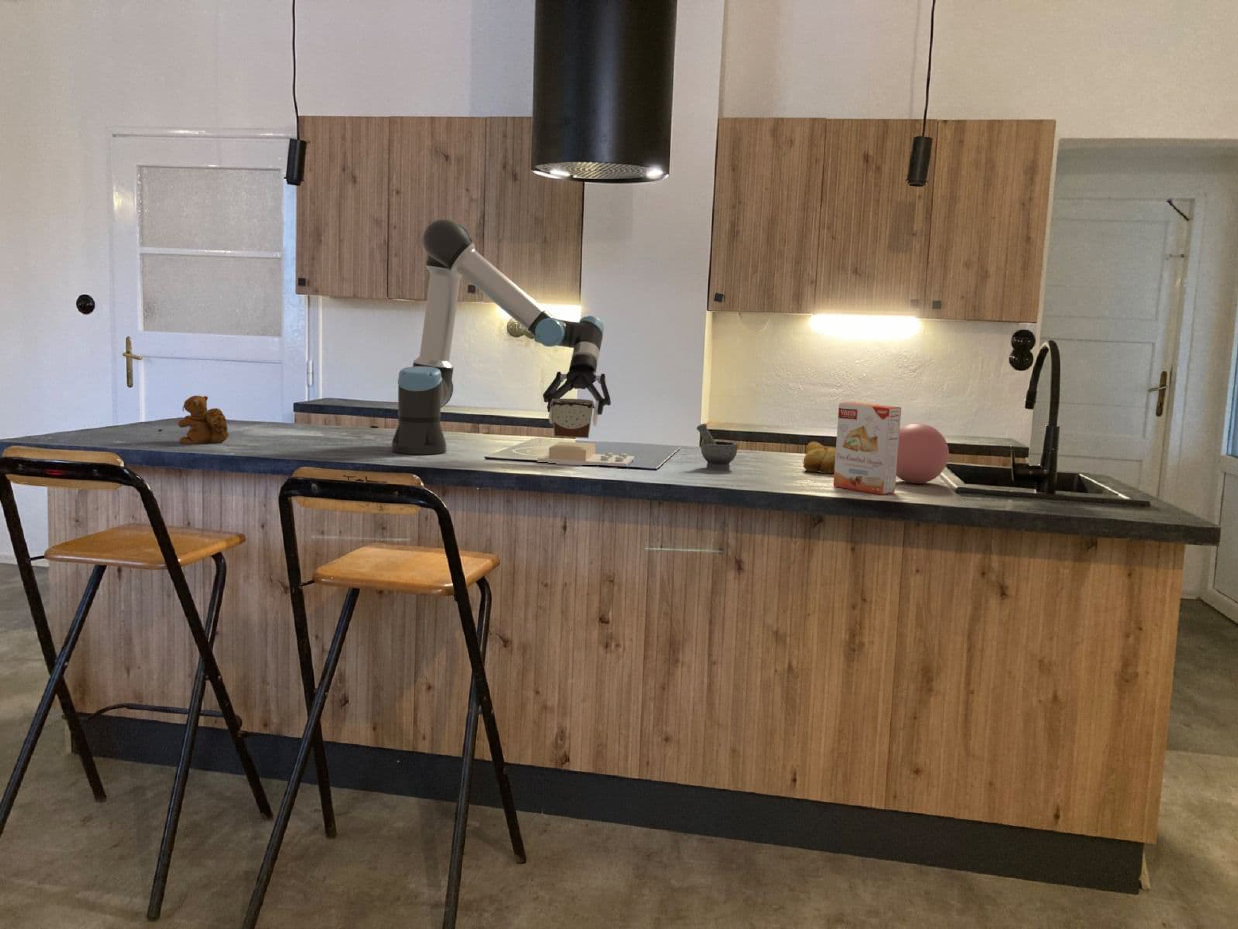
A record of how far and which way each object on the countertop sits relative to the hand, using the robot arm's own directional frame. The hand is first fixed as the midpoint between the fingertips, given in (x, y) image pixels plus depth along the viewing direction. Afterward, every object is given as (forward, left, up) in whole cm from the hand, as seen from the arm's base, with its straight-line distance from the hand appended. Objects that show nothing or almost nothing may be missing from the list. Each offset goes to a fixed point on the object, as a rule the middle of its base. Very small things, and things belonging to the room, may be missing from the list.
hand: (572, 421), depth 274 cm
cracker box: (+76, -19, -11) cm, 79 cm away
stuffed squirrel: (-105, -3, -11) cm, 105 cm away
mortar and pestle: (+39, +5, -11) cm, 41 cm away
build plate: (+4, +3, -11) cm, 12 cm away
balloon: (+90, +1, -11) cm, 91 cm away
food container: (0, +3, -4) cm, 5 cm away
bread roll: (+68, +9, -11) cm, 70 cm away
